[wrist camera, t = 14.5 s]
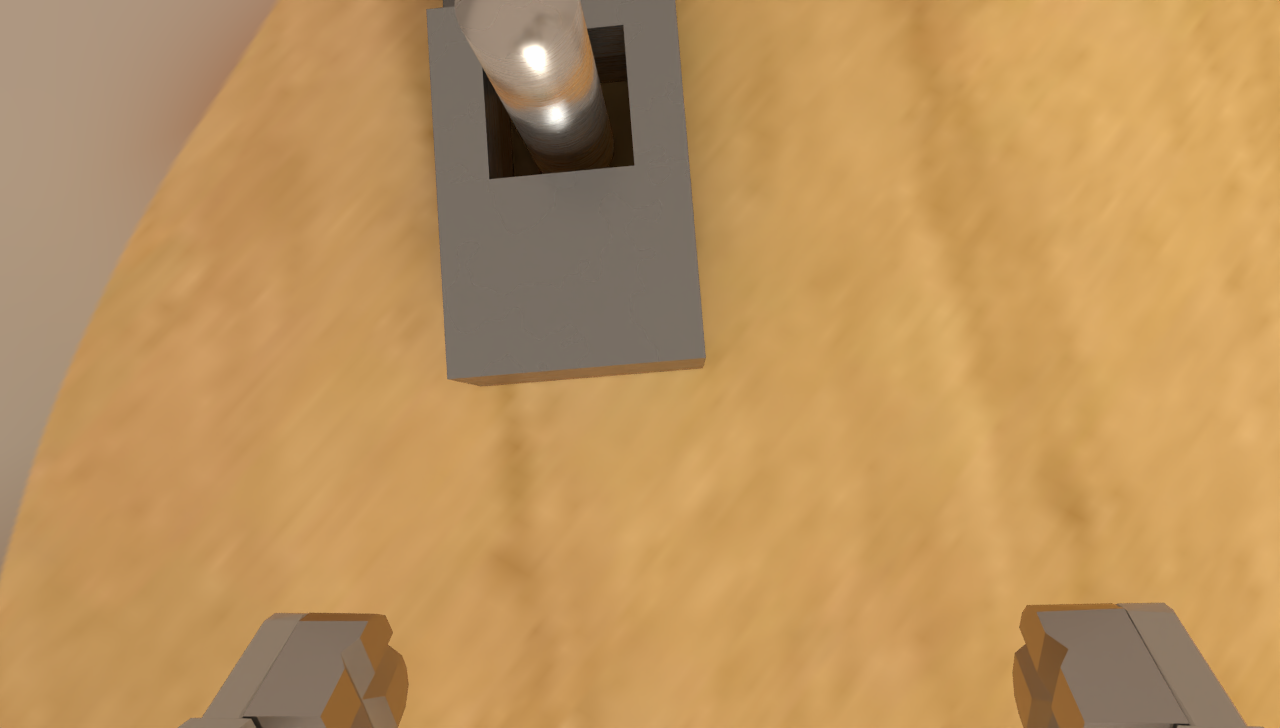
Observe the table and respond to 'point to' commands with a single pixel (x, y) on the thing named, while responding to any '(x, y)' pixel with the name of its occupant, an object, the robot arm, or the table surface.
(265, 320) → the table surface
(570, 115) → the steel pin
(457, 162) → the grey socket block
